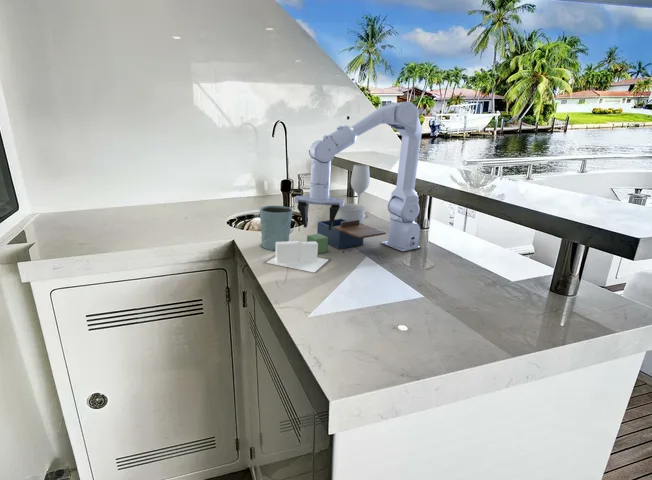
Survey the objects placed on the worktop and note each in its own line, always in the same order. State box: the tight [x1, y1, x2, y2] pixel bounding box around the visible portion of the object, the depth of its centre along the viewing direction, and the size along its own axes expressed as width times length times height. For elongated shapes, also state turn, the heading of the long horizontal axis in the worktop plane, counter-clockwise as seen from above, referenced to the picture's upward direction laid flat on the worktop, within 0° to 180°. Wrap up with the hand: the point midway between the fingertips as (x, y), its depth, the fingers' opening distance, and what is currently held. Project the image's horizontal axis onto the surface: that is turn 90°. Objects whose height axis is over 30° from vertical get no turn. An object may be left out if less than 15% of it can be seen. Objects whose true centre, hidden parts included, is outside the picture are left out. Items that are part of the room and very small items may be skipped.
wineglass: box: [350, 164, 371, 218], centre depth 157 cm, size 8×8×21 cm
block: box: [306, 233, 329, 254], centre depth 117 cm, size 5×5×5 cm
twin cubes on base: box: [265, 240, 329, 273], centre depth 108 cm, size 15×11×6 cm
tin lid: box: [333, 219, 387, 239], centre depth 117 cm, size 12×10×2 cm
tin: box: [316, 218, 364, 250], centre depth 126 cm, size 12×10×6 cm
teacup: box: [335, 202, 366, 224], centre depth 144 cm, size 14×11×8 cm
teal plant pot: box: [259, 205, 294, 251], centre depth 119 cm, size 10×10×12 cm
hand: (317, 228), depth 115 cm, fingers open, 7 cm apart
